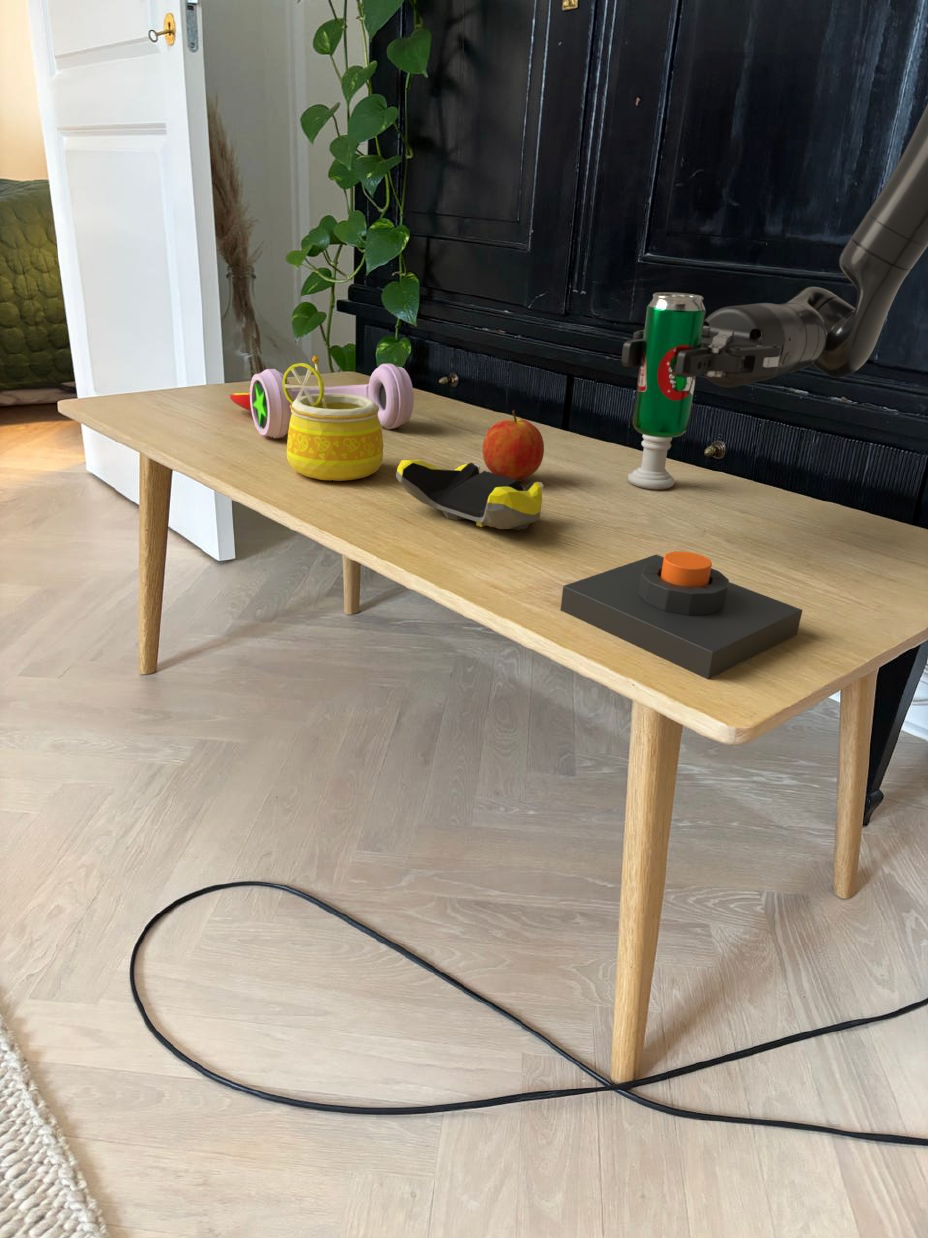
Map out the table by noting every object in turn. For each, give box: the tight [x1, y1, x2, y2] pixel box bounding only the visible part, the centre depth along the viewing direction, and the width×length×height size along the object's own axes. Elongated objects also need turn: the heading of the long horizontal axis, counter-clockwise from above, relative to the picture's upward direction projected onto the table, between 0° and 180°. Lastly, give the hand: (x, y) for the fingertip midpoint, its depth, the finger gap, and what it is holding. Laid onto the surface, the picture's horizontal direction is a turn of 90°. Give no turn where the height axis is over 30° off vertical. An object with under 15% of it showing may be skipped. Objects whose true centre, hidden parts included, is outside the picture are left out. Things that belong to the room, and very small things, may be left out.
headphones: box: [229, 363, 415, 439], centre depth 122 cm, size 20×10×20 cm
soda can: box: [632, 292, 707, 439], centre depth 81 cm, size 5×5×12 cm
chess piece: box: [627, 434, 675, 491], centre depth 104 cm, size 5×5×9 cm
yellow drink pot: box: [283, 355, 384, 482], centre depth 102 cm, size 13×11×12 cm
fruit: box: [482, 409, 545, 482], centre depth 103 cm, size 7×7×8 cm
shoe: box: [395, 459, 544, 531], centre depth 90 cm, size 15×6×10 cm
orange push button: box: [661, 550, 713, 587], centre depth 70 cm, size 4×4×2 cm
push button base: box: [560, 554, 803, 680], centre depth 71 cm, size 14×12×4 cm
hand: (653, 359), depth 79 cm, fingers closed on soda can, 5 cm apart
